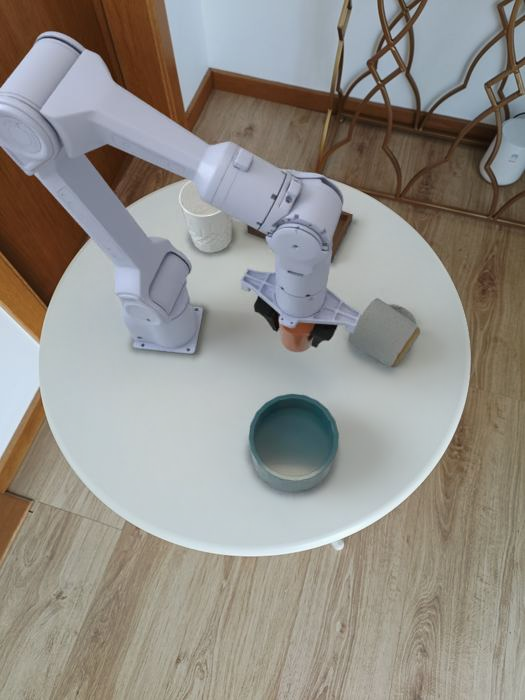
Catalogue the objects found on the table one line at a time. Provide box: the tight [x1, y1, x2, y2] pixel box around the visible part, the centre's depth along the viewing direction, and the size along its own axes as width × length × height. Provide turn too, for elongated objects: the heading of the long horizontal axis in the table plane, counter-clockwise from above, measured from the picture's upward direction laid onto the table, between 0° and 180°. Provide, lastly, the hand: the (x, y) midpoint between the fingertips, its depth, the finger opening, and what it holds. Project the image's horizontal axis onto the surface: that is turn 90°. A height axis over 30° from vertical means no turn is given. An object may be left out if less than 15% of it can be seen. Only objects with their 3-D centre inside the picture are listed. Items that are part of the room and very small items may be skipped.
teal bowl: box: [248, 393, 340, 493], centre depth 70 cm, size 11×11×8 cm
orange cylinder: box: [278, 313, 315, 353], centre depth 69 cm, size 5×5×6 cm
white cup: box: [178, 180, 233, 254], centre depth 85 cm, size 8×8×10 cm
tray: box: [246, 210, 354, 264], centre depth 89 cm, size 15×9×2 cm, turn 65°
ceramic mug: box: [347, 297, 421, 368], centre depth 78 cm, size 11×8×8 cm
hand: (297, 332), depth 70 cm, fingers closed on orange cylinder, 5 cm apart
